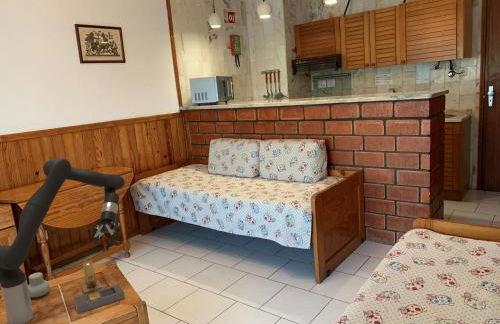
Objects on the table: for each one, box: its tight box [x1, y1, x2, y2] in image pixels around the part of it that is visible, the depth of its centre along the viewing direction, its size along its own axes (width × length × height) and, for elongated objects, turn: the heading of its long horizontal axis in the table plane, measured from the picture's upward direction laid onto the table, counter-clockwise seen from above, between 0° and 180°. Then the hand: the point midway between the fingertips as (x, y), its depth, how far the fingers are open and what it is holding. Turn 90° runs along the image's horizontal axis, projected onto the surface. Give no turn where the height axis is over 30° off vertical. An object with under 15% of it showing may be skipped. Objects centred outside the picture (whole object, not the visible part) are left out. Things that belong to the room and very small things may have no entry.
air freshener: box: [27, 271, 51, 298], centre depth 188 cm, size 11×8×10 cm
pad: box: [81, 280, 103, 295], centre depth 189 cm, size 8×8×2 cm
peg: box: [82, 260, 97, 289], centre depth 188 cm, size 4×4×12 cm
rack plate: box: [73, 283, 126, 315], centre depth 179 cm, size 20×10×3 cm, turn 121°
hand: (103, 244), depth 189 cm, fingers open, 8 cm apart
